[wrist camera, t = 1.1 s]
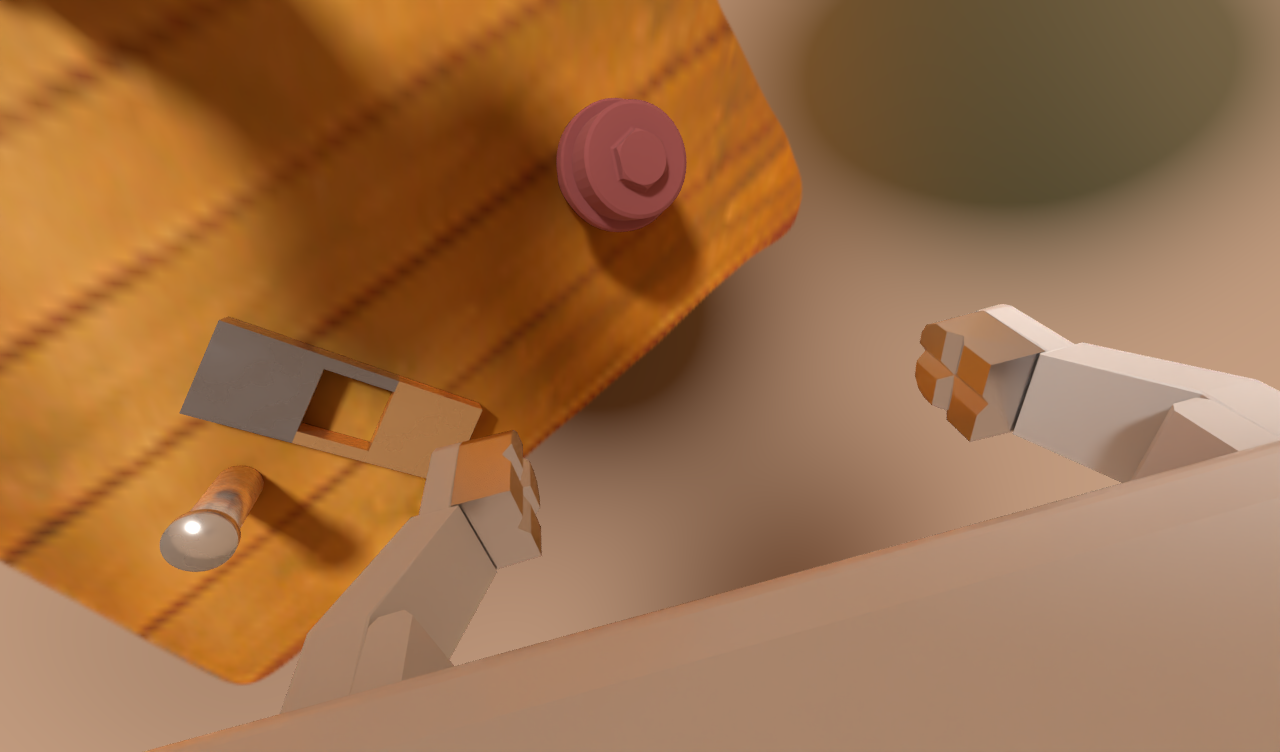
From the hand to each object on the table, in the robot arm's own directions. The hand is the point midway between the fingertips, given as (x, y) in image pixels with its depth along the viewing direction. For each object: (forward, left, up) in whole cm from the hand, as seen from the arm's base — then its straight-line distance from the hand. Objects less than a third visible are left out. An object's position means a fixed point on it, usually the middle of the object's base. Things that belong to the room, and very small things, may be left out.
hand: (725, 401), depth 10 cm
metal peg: (-10, -22, -41) cm, 48 cm away
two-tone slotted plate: (-5, -13, -41) cm, 44 cm away
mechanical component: (+6, +14, -41) cm, 44 cm away
